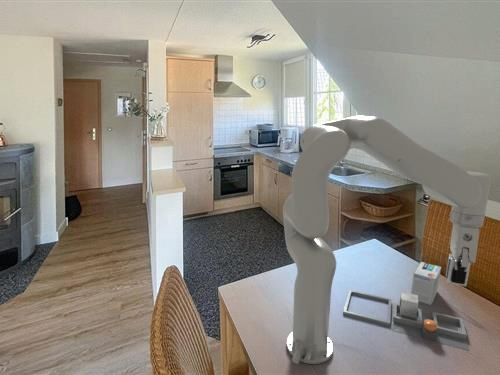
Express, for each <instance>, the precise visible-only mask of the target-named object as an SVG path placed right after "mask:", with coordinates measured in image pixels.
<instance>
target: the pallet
mask: <svg viewBox="0 0 500 375" xmlns="http://www.w3.org/2000/svg"><path fill="white" fill-rule="evenodd" d="M399 305H400V303H395V302H394V303H393V306H392V308H393V309H392V323H391V324H392V330H391V331H392V332H395V333H400V334H402V335H403V334H404V335H407V336H411V337H415V338H418V339H422V340H426V341H429V342H430V341H431V342H433V343H434V342H435V343H437V344H442V345H444V346H450V347H453V348H456V349H461V350H464V351H468V352H469V351H470V348H469V343H468V340H467V337H468V335H467V331H466V327H465V324H464V319H463V318H462V317H461V318H460V317H455V316H452V315H449V314H443V313H439V312H435V311H432V314H429V313H423V312H422V308H418V309H417V316H416V321H414V320H410V319H406V318H402V317H399ZM426 319H429V320H433V321H434V322H436V323H437V329H436V331H435V332H431V331H428V330H426V329H425V328H424V321H425V320H426Z"/></svg>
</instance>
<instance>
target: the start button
mask: <svg viewBox="0 0 500 375" xmlns="http://www.w3.org/2000/svg"><path fill="white" fill-rule="evenodd" d="M424 328H425V329H426V330H428V331H431V332H435V331H436V329H437V323H436V322H434V321H433V320H429V319H426V320H425V321H424Z"/></svg>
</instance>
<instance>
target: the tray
mask: <svg viewBox="0 0 500 375" xmlns="http://www.w3.org/2000/svg"><path fill="white" fill-rule="evenodd" d="M352 295H354V296H359V297H362V298H367V299H371V300H376V301H380V302H384V303H388V307H387V319H386V320H384V319H379V318H376V317H372V316H368V315H364V314H362V313H361V314H360V313H356V312H352V311H348V309H349V308H348V307H349V303H350V301H351V298H352ZM392 300H393V299H392V298H388V297H383V296H381V295H375V294H371V293H366V292H362V291H357V290H352V289H349V290H348V294H347V297H346V300H345V304H344V307H343V311H342V315H344V316H349V317H351V318H355V319H360V320H362V321H367V322H370V323H371V322H372V323H375V324H378V325H382V326H386V327H391V319H392V318H391V316H392Z"/></svg>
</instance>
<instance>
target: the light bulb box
mask: <svg viewBox="0 0 500 375" xmlns="http://www.w3.org/2000/svg"><path fill="white" fill-rule="evenodd" d="M441 269H442V267H441V266H439V265H436V264H435V265H434V264H430V263H427V262H424V261H420V263H419V264H418V266H417V268H416V269H415V271H414V273H413V276H412V284H411V291H410V294H414V295H418V302H420V303H422V304H426V305H429V306H431V305H432V304H433V302H434V300H435V298H436V296H437V293H438V288H439V281H440V277H441V271H442V270H441Z"/></svg>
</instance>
